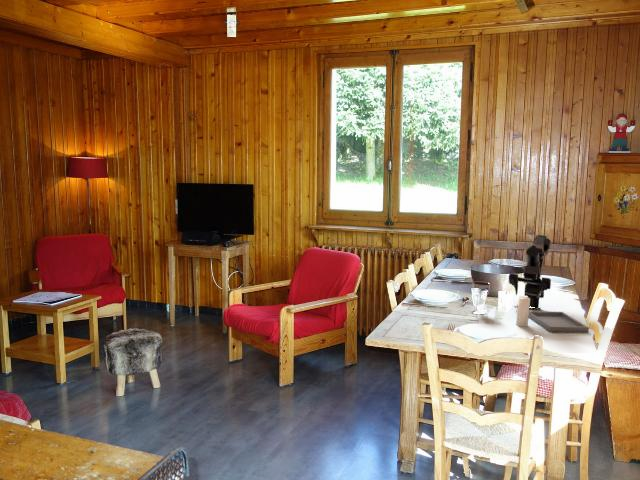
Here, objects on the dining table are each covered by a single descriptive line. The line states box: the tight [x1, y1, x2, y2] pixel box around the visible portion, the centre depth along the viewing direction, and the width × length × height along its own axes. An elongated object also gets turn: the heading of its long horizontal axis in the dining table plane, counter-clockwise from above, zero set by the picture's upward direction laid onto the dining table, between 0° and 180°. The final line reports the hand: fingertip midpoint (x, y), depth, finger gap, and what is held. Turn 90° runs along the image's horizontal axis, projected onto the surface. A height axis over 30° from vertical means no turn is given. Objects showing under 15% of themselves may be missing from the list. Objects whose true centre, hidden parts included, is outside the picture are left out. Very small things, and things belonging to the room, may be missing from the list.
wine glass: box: [471, 280, 491, 316], centre depth 280 cm, size 8×8×15 cm
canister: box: [515, 296, 530, 328], centre depth 263 cm, size 5×5×13 cm
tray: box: [528, 310, 590, 334], centre depth 267 cm, size 24×18×2 cm
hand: (526, 295), depth 267 cm, fingers open, 9 cm apart
